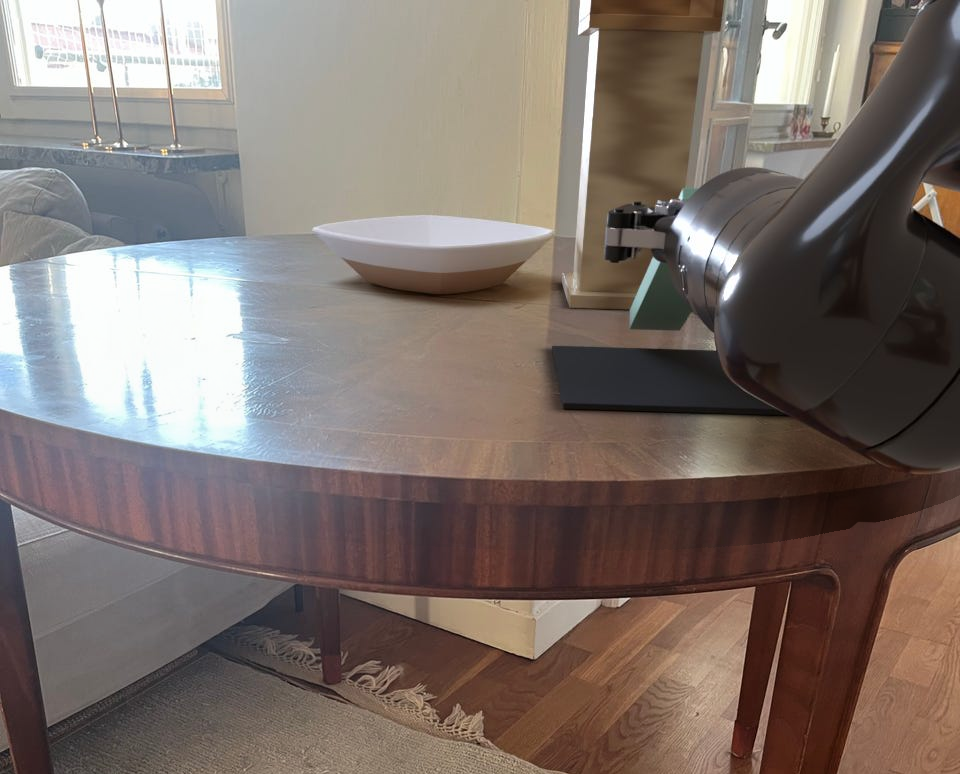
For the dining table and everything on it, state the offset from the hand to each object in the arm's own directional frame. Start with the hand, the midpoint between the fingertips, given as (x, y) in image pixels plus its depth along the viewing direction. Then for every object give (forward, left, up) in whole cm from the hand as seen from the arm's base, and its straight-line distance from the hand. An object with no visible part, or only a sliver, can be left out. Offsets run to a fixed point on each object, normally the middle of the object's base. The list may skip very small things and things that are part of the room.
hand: (696, 219), depth 60 cm
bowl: (+19, -40, -11) cm, 46 cm away
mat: (0, -3, -11) cm, 11 cm away
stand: (0, -35, -11) cm, 37 cm away
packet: (0, -3, -4) cm, 5 cm away
